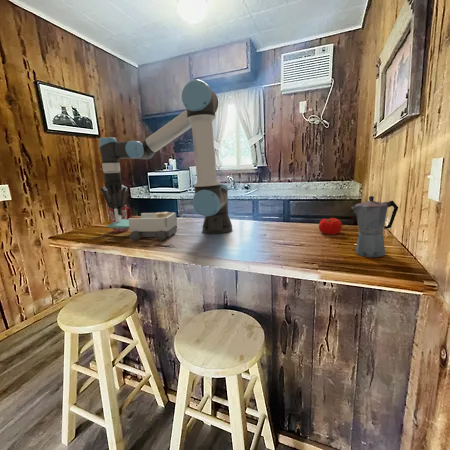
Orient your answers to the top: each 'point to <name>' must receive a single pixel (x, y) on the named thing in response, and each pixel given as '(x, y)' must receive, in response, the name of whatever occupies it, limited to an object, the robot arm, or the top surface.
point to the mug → (123, 216)
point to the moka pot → (372, 226)
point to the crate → (161, 214)
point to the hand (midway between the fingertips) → (118, 221)
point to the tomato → (330, 226)
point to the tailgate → (120, 224)
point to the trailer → (152, 226)
